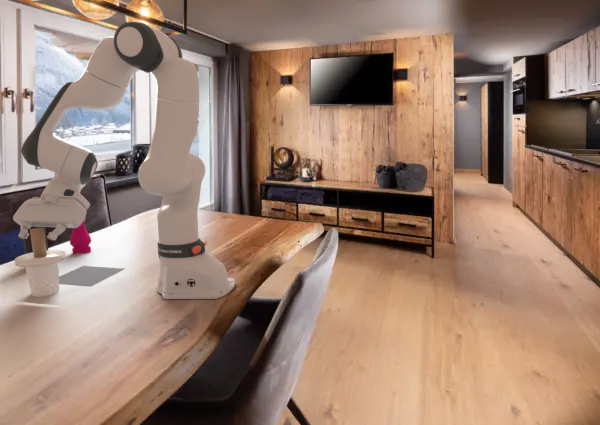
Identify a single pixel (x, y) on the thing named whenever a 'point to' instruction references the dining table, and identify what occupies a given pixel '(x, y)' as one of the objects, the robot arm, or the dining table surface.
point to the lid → (39, 252)
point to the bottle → (29, 243)
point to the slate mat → (87, 275)
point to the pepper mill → (80, 239)
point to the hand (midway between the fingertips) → (36, 238)
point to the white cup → (43, 279)
